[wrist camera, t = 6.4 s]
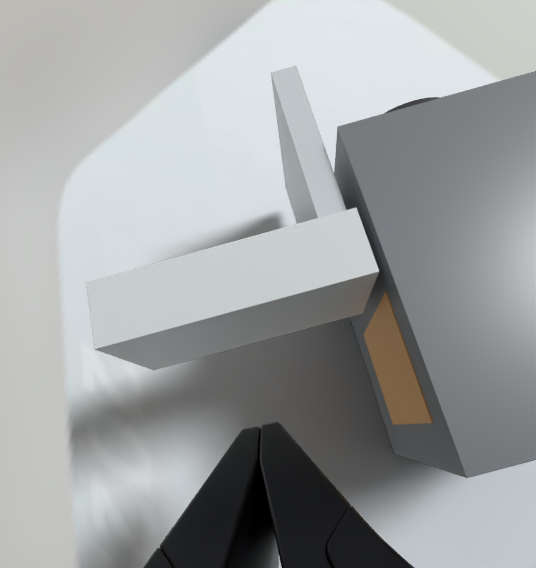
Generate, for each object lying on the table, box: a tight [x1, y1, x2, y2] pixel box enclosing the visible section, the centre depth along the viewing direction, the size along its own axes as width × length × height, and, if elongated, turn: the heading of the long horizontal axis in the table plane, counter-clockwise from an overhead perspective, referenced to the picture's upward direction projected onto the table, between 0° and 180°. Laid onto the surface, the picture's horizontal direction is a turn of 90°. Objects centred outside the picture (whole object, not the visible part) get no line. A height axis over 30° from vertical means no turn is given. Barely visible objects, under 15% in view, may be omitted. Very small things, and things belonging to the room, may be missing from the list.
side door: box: [86, 66, 379, 370], centre depth 13 cm, size 6×6×7 cm
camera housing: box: [334, 71, 536, 478], centre depth 13 cm, size 9×5×8 cm, turn 14°
